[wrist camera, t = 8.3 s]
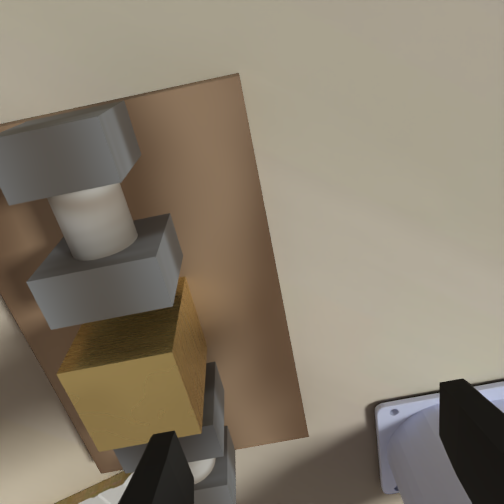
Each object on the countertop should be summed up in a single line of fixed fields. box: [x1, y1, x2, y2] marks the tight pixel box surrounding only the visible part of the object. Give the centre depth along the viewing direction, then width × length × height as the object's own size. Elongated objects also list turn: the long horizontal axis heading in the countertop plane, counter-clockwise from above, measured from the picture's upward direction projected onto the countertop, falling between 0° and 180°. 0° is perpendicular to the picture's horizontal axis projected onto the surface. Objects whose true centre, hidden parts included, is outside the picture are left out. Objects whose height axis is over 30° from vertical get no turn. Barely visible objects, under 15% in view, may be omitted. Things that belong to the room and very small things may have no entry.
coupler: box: [57, 277, 207, 452], centre depth 17 cm, size 4×4×5 cm
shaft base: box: [0, 73, 309, 504], centre depth 18 cm, size 12×19×5 cm, turn 11°
